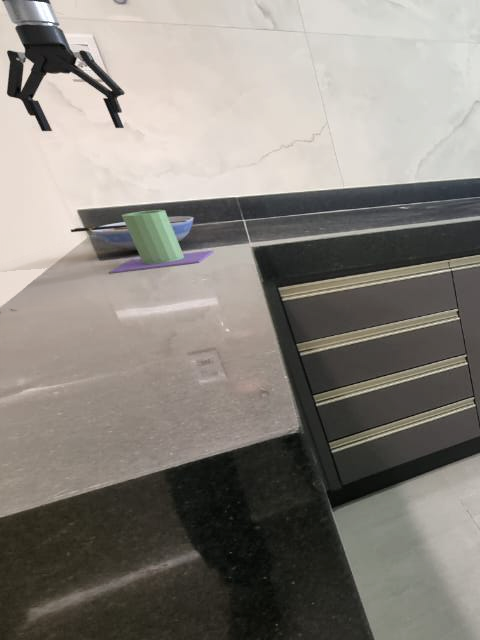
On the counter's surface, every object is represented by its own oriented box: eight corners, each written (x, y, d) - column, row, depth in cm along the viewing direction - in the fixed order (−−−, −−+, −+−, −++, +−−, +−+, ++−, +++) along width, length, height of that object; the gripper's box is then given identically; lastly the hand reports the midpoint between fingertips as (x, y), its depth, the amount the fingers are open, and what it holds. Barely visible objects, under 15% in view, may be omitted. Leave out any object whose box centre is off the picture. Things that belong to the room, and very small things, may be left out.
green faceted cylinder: (138, 266, 131) (115, 217, 126) (150, 259, 138) (129, 212, 133) (178, 261, 134) (158, 213, 129) (188, 254, 141) (169, 208, 136)
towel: (109, 273, 127) (108, 271, 127) (131, 261, 139) (131, 259, 138) (199, 262, 133) (198, 261, 133) (213, 251, 145) (213, 250, 145)
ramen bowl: (219, 237, 166) (209, 210, 163) (188, 252, 146) (176, 222, 143) (123, 246, 159) (111, 218, 156) (77, 263, 140) (62, 232, 136)
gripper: (115, 29, 125) (154, 126, 134) (-28, 28, 117) (24, 132, 126) (101, 24, 119) (142, 126, 128) (-51, 22, 110) (5, 132, 119)
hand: (84, 129), depth 127 cm, fingers open, 13 cm apart
